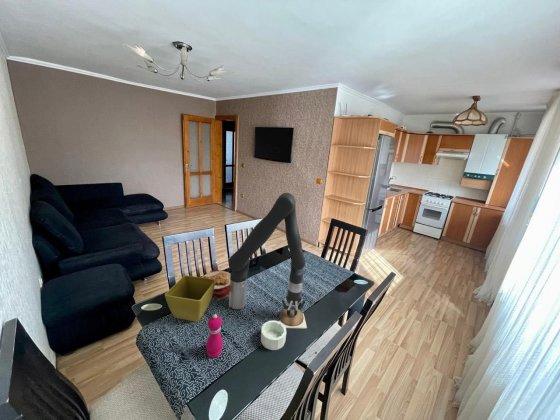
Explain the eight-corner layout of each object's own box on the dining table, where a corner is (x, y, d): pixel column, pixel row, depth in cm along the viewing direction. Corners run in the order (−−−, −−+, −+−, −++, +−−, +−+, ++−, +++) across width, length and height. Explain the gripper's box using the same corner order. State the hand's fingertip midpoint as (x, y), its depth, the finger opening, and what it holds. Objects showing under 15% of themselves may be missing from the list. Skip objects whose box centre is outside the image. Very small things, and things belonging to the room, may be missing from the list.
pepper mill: (224, 345, 105) (225, 309, 100) (220, 359, 98) (221, 321, 93) (208, 344, 105) (208, 308, 100) (204, 358, 98) (204, 320, 93)
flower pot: (165, 322, 115) (163, 294, 111) (185, 299, 133) (184, 274, 129) (200, 329, 113) (200, 301, 109) (215, 304, 131) (216, 279, 127)
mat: (278, 328, 118) (279, 327, 118) (277, 308, 133) (277, 307, 133) (306, 328, 120) (306, 327, 120) (302, 309, 134) (302, 308, 134)
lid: (280, 326, 119) (281, 316, 117) (278, 308, 132) (279, 299, 131) (305, 326, 120) (306, 317, 119) (301, 309, 133) (302, 300, 132)
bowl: (260, 350, 105) (261, 339, 103) (260, 330, 116) (261, 320, 115) (286, 350, 106) (287, 340, 104) (283, 330, 117) (284, 320, 116)
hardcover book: (217, 305, 132) (217, 299, 131) (202, 288, 147) (202, 282, 146) (235, 298, 140) (235, 292, 139) (219, 282, 155) (219, 276, 154)
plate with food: (221, 298, 132) (221, 292, 131) (188, 285, 142) (188, 280, 141) (243, 279, 153) (244, 274, 152) (214, 269, 163) (214, 264, 162)
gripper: (282, 291, 117) (279, 319, 122) (309, 292, 118) (305, 319, 123) (281, 283, 124) (278, 309, 129) (306, 284, 126) (302, 310, 130)
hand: (291, 314), depth 126 cm, fingers closed on lid, 3 cm apart
